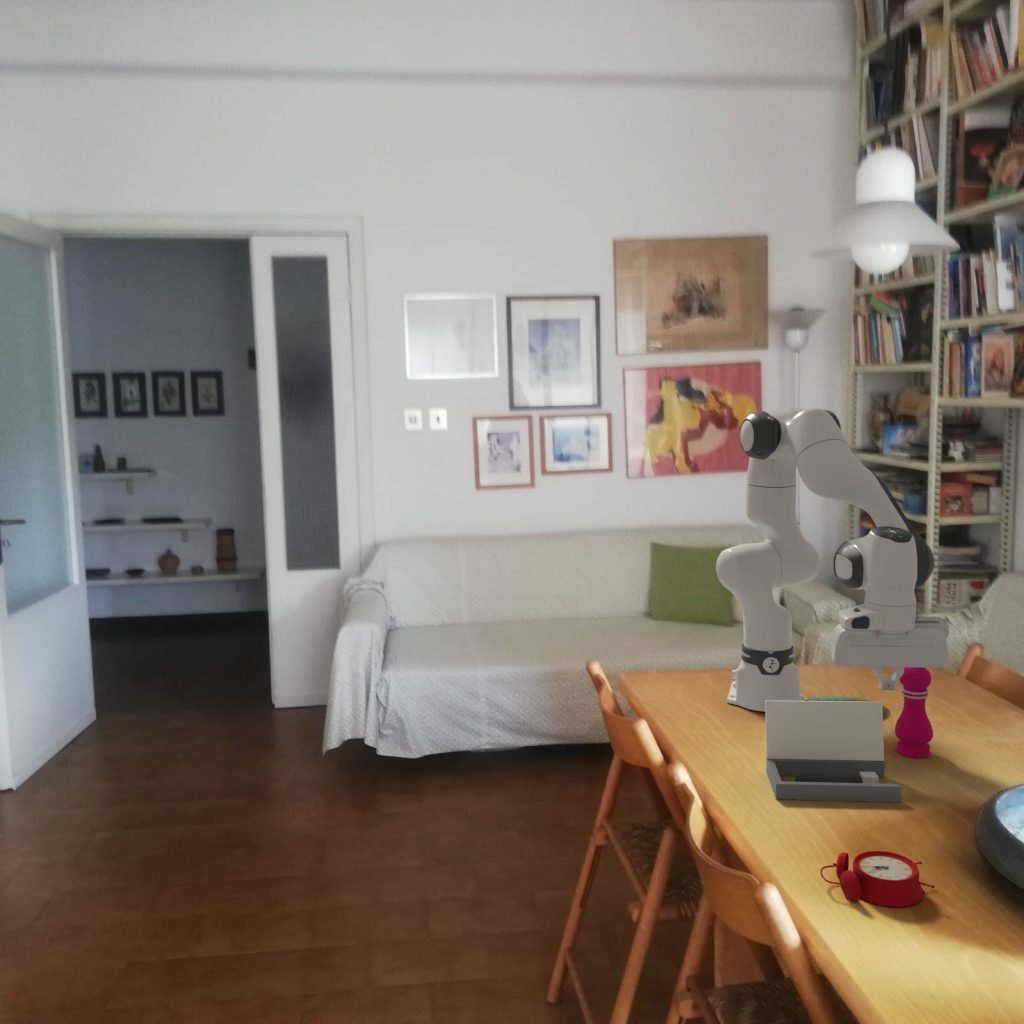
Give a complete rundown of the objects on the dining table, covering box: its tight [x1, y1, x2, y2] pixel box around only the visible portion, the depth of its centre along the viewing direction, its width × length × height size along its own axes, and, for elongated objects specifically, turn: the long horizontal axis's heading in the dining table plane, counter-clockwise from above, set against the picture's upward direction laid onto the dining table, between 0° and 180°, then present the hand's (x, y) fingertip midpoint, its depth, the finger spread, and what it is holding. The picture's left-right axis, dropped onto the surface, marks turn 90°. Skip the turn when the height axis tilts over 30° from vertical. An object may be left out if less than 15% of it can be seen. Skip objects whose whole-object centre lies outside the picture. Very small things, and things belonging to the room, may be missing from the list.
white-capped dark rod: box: [794, 772, 880, 784], centre depth 179 cm, size 15×3×3 cm, turn 84°
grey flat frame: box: [765, 758, 902, 803], centre depth 179 cm, size 12×22×3 cm, turn 83°
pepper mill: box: [894, 667, 934, 759], centre depth 193 cm, size 7×7×20 cm
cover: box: [764, 700, 885, 762], centre depth 185 cm, size 11×22×1 cm
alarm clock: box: [819, 850, 935, 908], centre depth 143 cm, size 10×6×15 cm
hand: (887, 689), depth 176 cm, fingers closed
